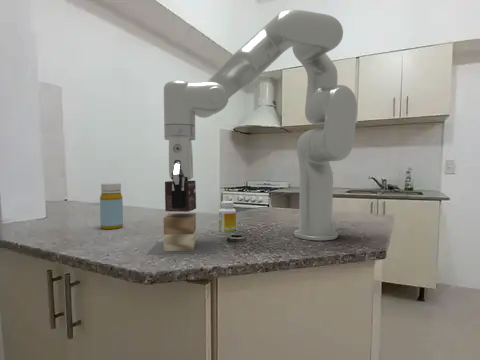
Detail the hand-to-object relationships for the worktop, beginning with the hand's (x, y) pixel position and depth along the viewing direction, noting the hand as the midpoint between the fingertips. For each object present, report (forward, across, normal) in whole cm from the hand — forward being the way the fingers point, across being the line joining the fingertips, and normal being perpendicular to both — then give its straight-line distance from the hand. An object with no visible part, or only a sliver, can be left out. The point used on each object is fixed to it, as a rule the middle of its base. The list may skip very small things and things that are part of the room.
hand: (181, 205), depth 80 cm
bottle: (+11, +30, +27) cm, 42 cm away
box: (+2, 0, 0) cm, 2 cm away
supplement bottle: (+12, +20, -12) cm, 26 cm away
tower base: (+11, 0, 0) cm, 11 cm away
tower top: (+7, 0, 0) cm, 7 cm away
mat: (+11, 0, -1) cm, 11 cm away
